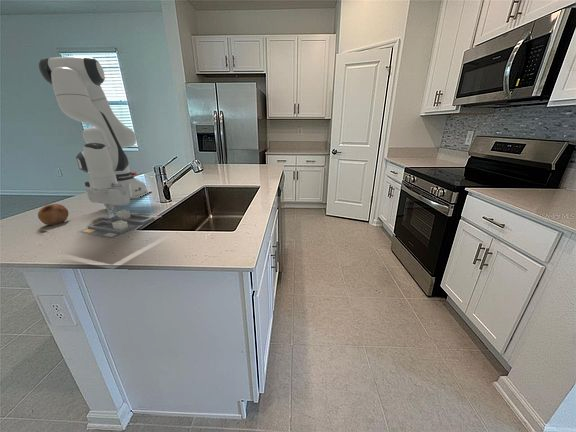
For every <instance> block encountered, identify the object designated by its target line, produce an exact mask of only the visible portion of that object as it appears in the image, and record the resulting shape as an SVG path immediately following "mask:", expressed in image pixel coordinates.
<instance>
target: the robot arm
mask: <svg viewBox="0 0 576 432" xmlns="http://www.w3.org/2000/svg"><path fill="white" fill-rule="evenodd" d="M38 69H39V71H40V74H41V75H42V77H43V79H44V80H45V81H46V82H48V83H49V84H51V85H52V89H53V93H54V96H55V100H56V102H57V105H58V107H59V109H60V110H61V112H62V113H63V114H64V115H65V116H67V117H69V118H70V119H71V120H74V121H77V122H80V123H84V124H86V125H88V126H89V127H86V128H84V130H83V131H82V139H83V140H84V143H86V144H84V145H83V147H82V148H83V151H80V152H79V153H78V154H77V155H76V156H75V159H76V162H77V165H78V169H79V170H80V171H82V172H84V173H86V174H89V179H88V180H86V181H83V182H82V183H83V187H85V192H86V195H87V197H88V198H87V199H88V200H89V201H90V202H91V203H97V204H103V206H104V207H105V209H106V210H107V212H108V214H113V215H114V214H117V213H116V212H118V211H117V207H118V206H119V207H125V206H128V205H131V204H130V203H131V200H132V199H133V200H135V199H139V198H141V197H143V195H144V196H145V194H146V195H148V194H150V193H149V192H151V191H152V189H150V188H147V185H146V183H145V182H144V181H143V180H142V181H141V180H140V179H138V178H136V177H135V176H137V175H138V172H137V171H131V170H130V165H129V163H130V162H129V159H128V156H127V155H126V153H125V151H124V148H130V147H133V146H135V145H136V142H137V136H136V133H135V131H133V129H132V128H130V127H128V126H126V125H125V124H124V123H122V121H121V120H119V118H117V116H116V115H115V113H114V112H113V110H112V108H111V106H110V103H109V101H108V99H107V96H106V94H105V92H104V90H103V89H102V86H101V85H102V84H103V83H104V81H105V79H106V77H105V71H104V69H103V66H102V65H101V64H100V62H99V61H98V60H97V59H95V58H94V57H93V56H92V57H90V56H86V55H85V56H78V55H77V56H75V55H66V56H56V57H50V56H48V57H44V58H41V59H40V60H39V62H38ZM147 193H148V194H147ZM151 193H152V192H151ZM140 196H141V197H140Z"/></svg>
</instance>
